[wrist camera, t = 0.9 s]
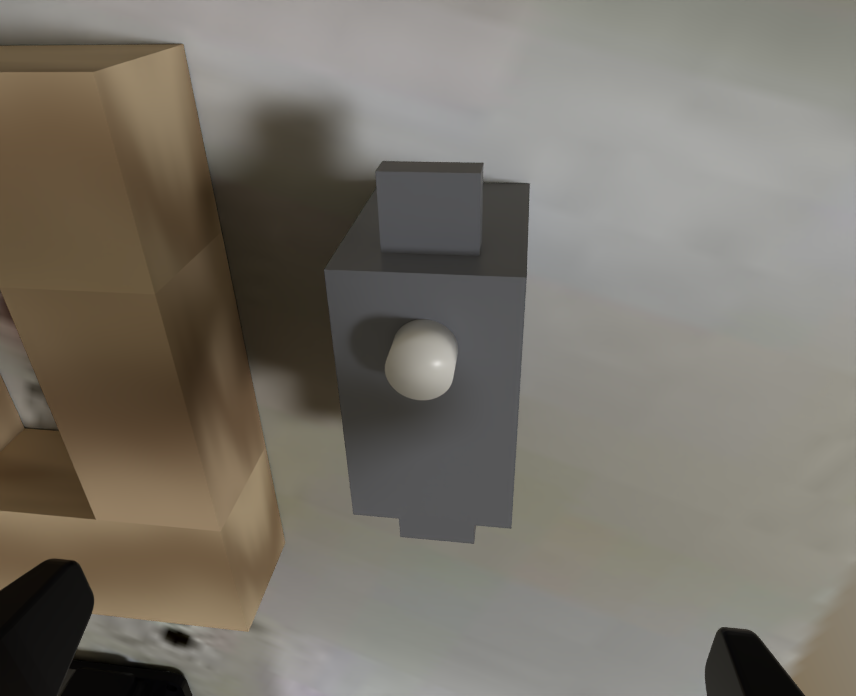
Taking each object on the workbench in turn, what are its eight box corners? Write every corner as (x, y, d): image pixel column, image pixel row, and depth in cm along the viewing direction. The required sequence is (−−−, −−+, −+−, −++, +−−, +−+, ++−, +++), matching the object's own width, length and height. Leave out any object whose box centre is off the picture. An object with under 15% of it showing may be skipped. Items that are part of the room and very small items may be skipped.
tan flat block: (285, 542, 23) (248, 631, 20) (-23, 513, 24) (-99, 592, 22) (183, 44, 14) (93, 71, 12) (-279, 48, 16) (-461, 73, 13)
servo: (514, 434, 19) (506, 604, 14) (397, 426, 20) (350, 588, 15) (533, 115, 14) (531, 207, 9) (377, 114, 15) (299, 201, 10)
